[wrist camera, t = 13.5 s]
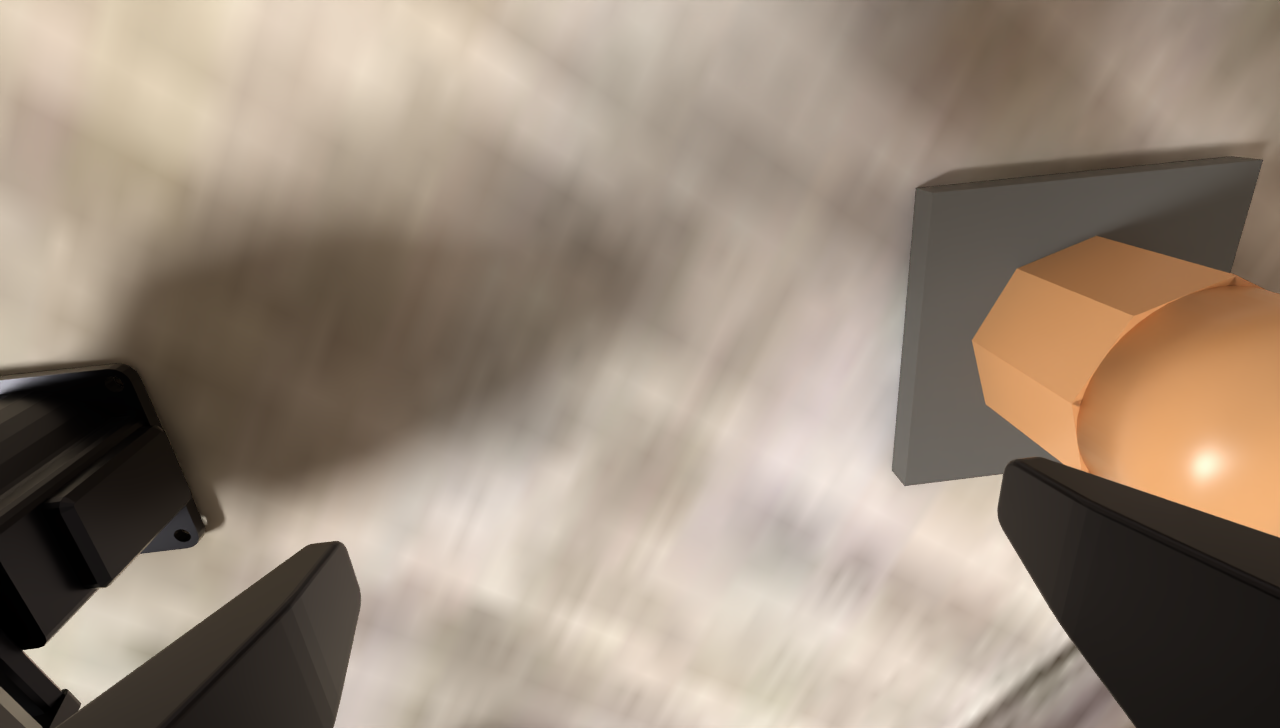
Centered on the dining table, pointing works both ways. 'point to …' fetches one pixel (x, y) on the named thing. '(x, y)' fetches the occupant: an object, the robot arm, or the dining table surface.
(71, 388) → the robot arm
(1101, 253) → the orange rounded bulb shape
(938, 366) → the mat
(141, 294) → the dining table surface
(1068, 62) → the dining table surface
